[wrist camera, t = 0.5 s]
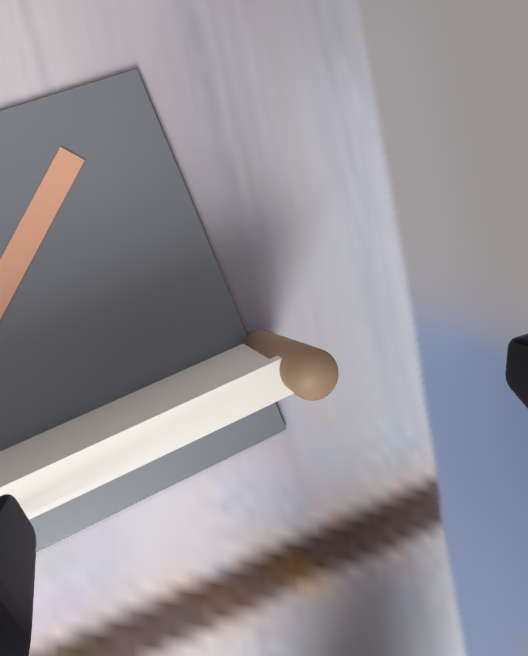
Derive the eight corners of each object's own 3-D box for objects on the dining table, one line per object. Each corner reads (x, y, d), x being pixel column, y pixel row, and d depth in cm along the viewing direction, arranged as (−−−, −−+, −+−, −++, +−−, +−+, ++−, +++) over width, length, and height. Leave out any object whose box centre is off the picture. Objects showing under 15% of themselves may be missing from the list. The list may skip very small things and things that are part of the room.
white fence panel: (-86, 522, 21) (-253, 677, 12) (-105, 488, 20) (-291, 624, 12) (281, 354, 24) (345, 386, 16) (268, 324, 24) (327, 340, 15)
